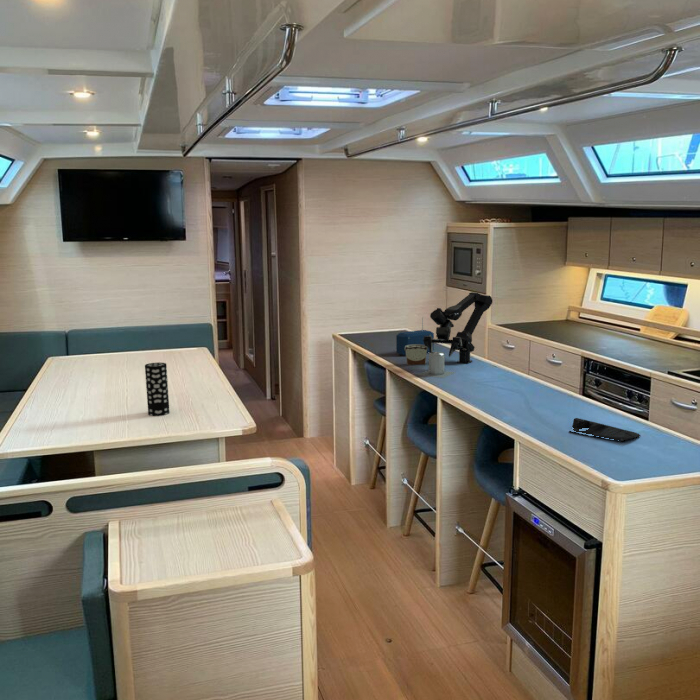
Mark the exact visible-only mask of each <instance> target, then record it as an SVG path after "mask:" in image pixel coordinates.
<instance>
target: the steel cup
mask: <svg viewBox="0 0 700 700" xmlns="http://www.w3.org/2000/svg"><path fill="white" fill-rule="evenodd" d="M428 370H429V374H430V375H443V374H444V371H445V353H444V352H443V351H432V352H430V353H428Z"/></svg>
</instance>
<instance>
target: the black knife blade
mask: <svg viewBox="0 0 700 700" xmlns="http://www.w3.org/2000/svg"><path fill="white" fill-rule="evenodd" d="M572 427H573V428H574V429H573V430H574V431H576V432H582V433H586V434H592V435H594V436H599V437H604V438H609V439H614V440H619V441H621V442H625V441H628V439H629V440H633V439H632V438H634V439H637V438H636V437H639V436H640V437H641V434H639V433H637V432H635V431H631V430H627V429H622V428H619V427H615V426H612V425H607V424H605V423H604V424H603V423H600V422H596V421H592V420H587V419H583V418H578V417H575V418H574V419H573V420H572V426H571V428H572ZM582 428H589V429H588V430H586V431H579V429H582ZM640 437H639V438H640ZM624 440H625V441H624ZM619 441H618V442H619Z"/></svg>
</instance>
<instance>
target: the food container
mask: <svg viewBox="0 0 700 700" xmlns="http://www.w3.org/2000/svg"><path fill="white" fill-rule="evenodd" d="M404 350H405V351H406V356H405V358H406V359H405V360H406V366H413V365H415V366H416V365H420V366H421V365H426V363H427V362H426V361H427V354H428V353H427V350H428V347H427V346H425V345H421V344H411V345H406V346H405V348H404Z"/></svg>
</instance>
